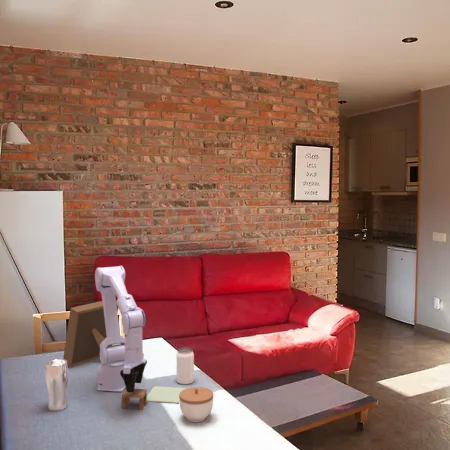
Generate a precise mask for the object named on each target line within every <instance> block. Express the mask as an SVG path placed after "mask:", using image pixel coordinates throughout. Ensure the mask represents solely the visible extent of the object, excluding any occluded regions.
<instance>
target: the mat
mask: <svg viewBox="0 0 450 450" xmlns="http://www.w3.org/2000/svg"><path fill="white" fill-rule="evenodd" d="M184 389H187V387H174V386H173V387H172V386H171V387H170V386H156V385H155V386H153V387H152V389H151V390H150V391H149V393H148V394H147V403H148V402H149V403H163V404H177V405H178V404H179V405H180V398H179V394H180V392H181V391H183V390H184Z"/></svg>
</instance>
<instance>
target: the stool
mask: <svg viewBox="0 0 450 450" xmlns="http://www.w3.org/2000/svg"><path fill="white" fill-rule="evenodd" d="M147 392H148V390H147V389H145V388H135V389H134V392H133V393H132V392H127V390H126V388H125V389H124V390H123V391H122V393H121V409H122V410H125V409H126V408H127V405H129V404H130V401H131V399H138V400H139V411H143V410H144V406H147V404H148V402H147V395H148V394H147Z"/></svg>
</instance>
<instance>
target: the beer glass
mask: <svg viewBox="0 0 450 450" xmlns="http://www.w3.org/2000/svg"><path fill="white" fill-rule="evenodd" d="M45 366H46V367H45V384H46V387H47V393H48V403H47V404H48V405H47V409H48V410H49V411H51V412H58V411H62V410H65V409H66V408H68V401H67V388H68V381H69V368H68V365H67V360H64V359H63V358H57V359H52V360H48V361H46V365H45ZM64 408H65V409H64Z"/></svg>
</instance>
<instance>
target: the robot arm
mask: <svg viewBox="0 0 450 450" xmlns="http://www.w3.org/2000/svg"><path fill="white" fill-rule="evenodd" d="M94 280H95V287H96V291H97V292H99V293H100V294H101V299H102V300H101V301H103V309H104V318H105V326H106V335H107V337H106V338H105V339H104V340H103V341H102V342H101V344H100V358H99V359H100V363H99V366H98V368H97V389H96V390H97V391H101V392H119V393H121V392H122V393H123V392H124V391H125V389H126V390H127V392H132V393H133V392H134V389H136V388H135V387H136V384H141V383H142V380H143V376H144V371H145V368H146V365H147V363H148V360H147V359H146V358H145V353H144V351H143V327H145V325H146V314H145V312H144V310H143V309H142V308H141V307H138V305H137V304H136V303H137V302H136V300H135V299H134V296H133V295H132V294H129V293H128V291H127V288H126V284H125V280H126V270H125V268H124V266H123V265H119V266H107V267H106V266H105V267H99V266H98V267H96V269H95V273H94ZM116 297H117V299H116ZM116 301H117V305H118V310H119V313H120V315H121V325H122V332H123V334H124V336H122V335H121V331H120V323H119V316H118V315H119V314H118V313H117V306H116ZM110 344H112V346H108V345H110Z"/></svg>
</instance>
